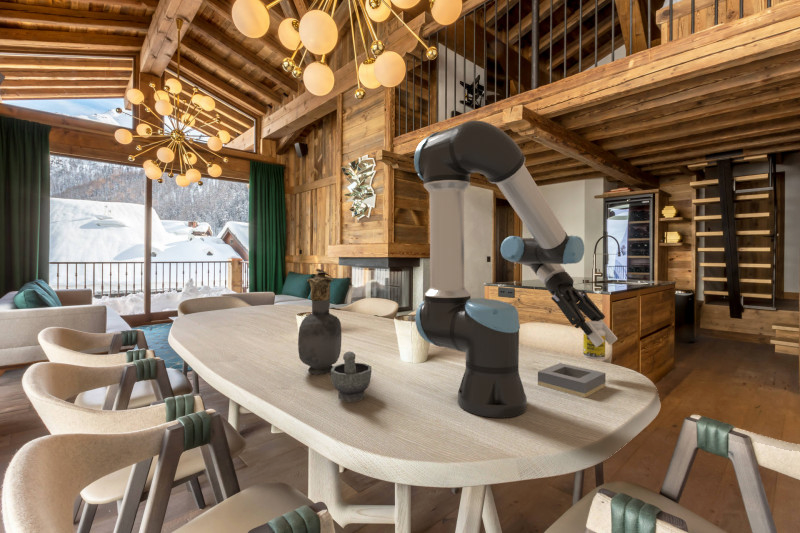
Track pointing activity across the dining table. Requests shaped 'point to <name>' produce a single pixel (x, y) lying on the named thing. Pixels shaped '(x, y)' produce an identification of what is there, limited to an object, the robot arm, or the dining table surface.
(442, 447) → the dining table surface
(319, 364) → the dark decorative bottle
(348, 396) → the mortar and pestle
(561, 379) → the socket block
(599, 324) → the supplement bottle
